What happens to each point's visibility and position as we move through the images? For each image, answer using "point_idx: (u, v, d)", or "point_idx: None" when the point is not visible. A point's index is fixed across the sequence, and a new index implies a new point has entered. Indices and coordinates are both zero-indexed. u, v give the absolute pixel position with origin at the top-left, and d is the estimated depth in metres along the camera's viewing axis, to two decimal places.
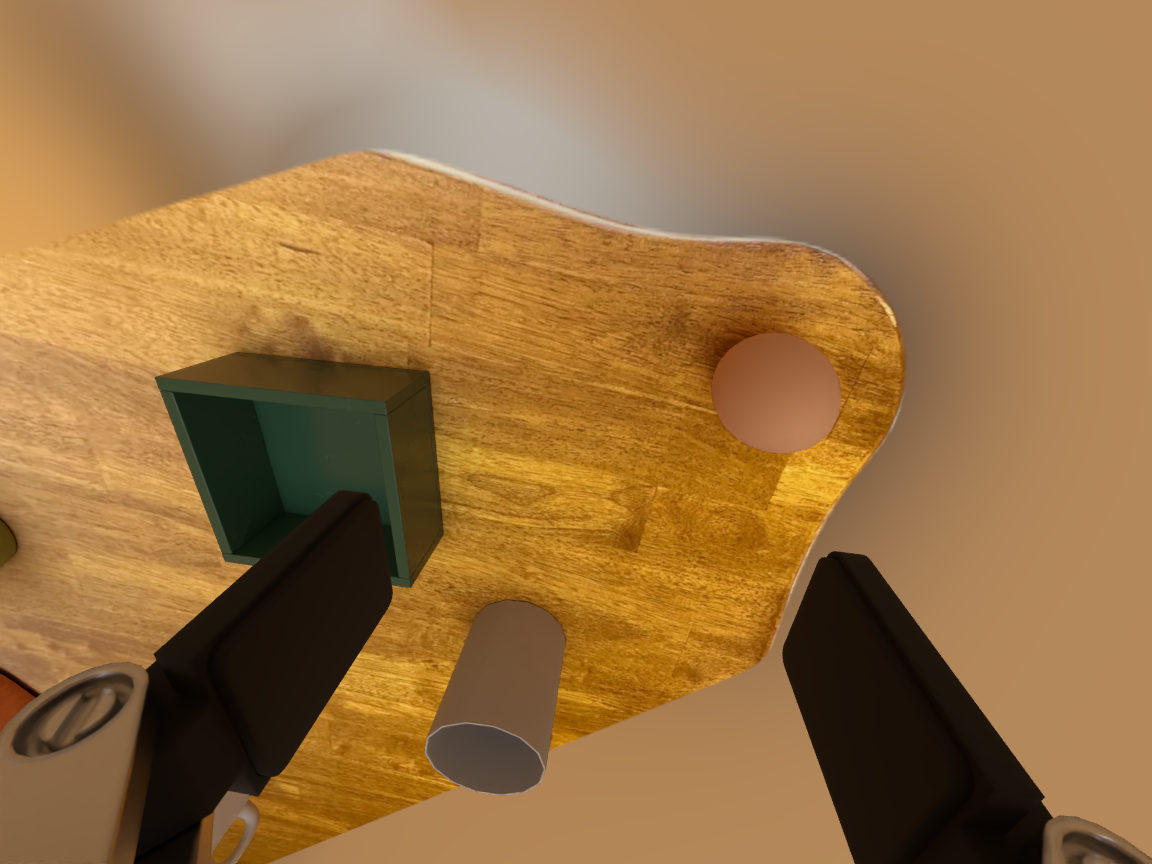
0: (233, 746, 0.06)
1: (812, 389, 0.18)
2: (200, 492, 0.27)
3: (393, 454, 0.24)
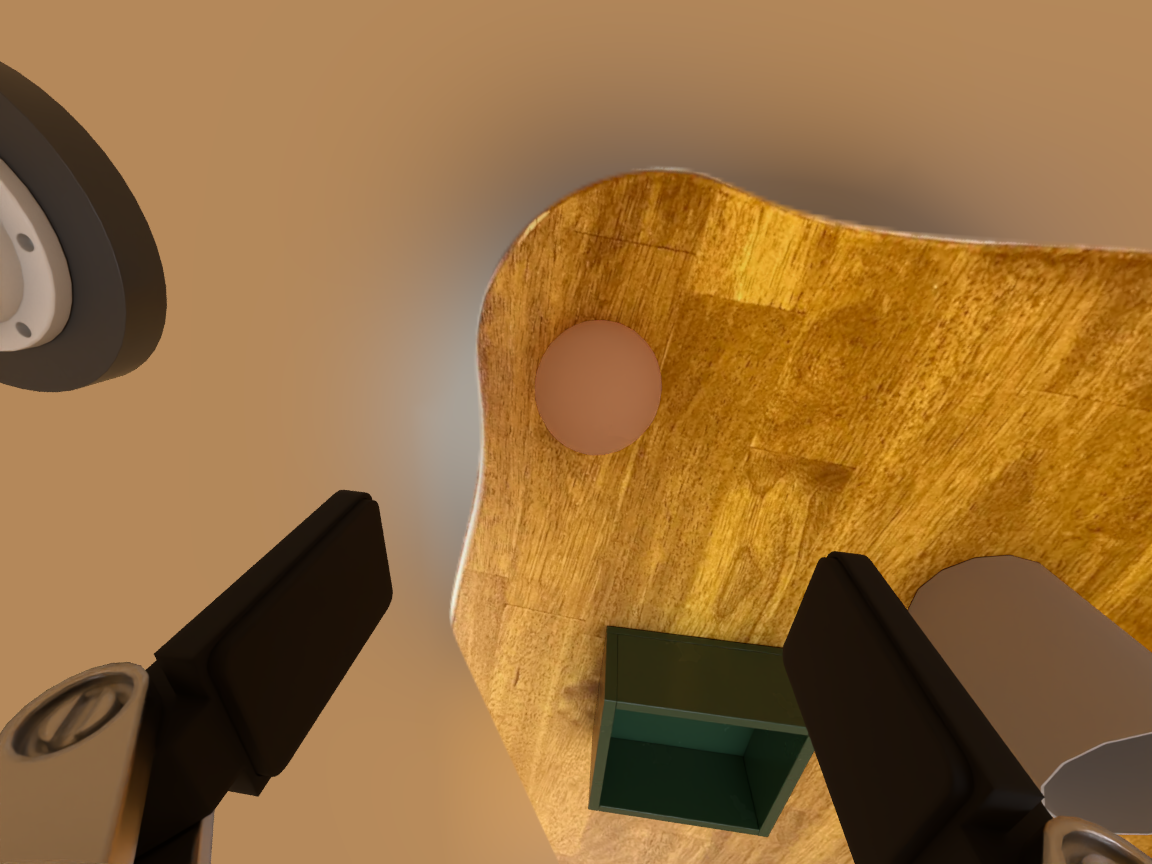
0: (234, 746, 0.06)
1: (556, 407, 0.16)
2: (689, 824, 0.32)
3: (656, 705, 0.27)
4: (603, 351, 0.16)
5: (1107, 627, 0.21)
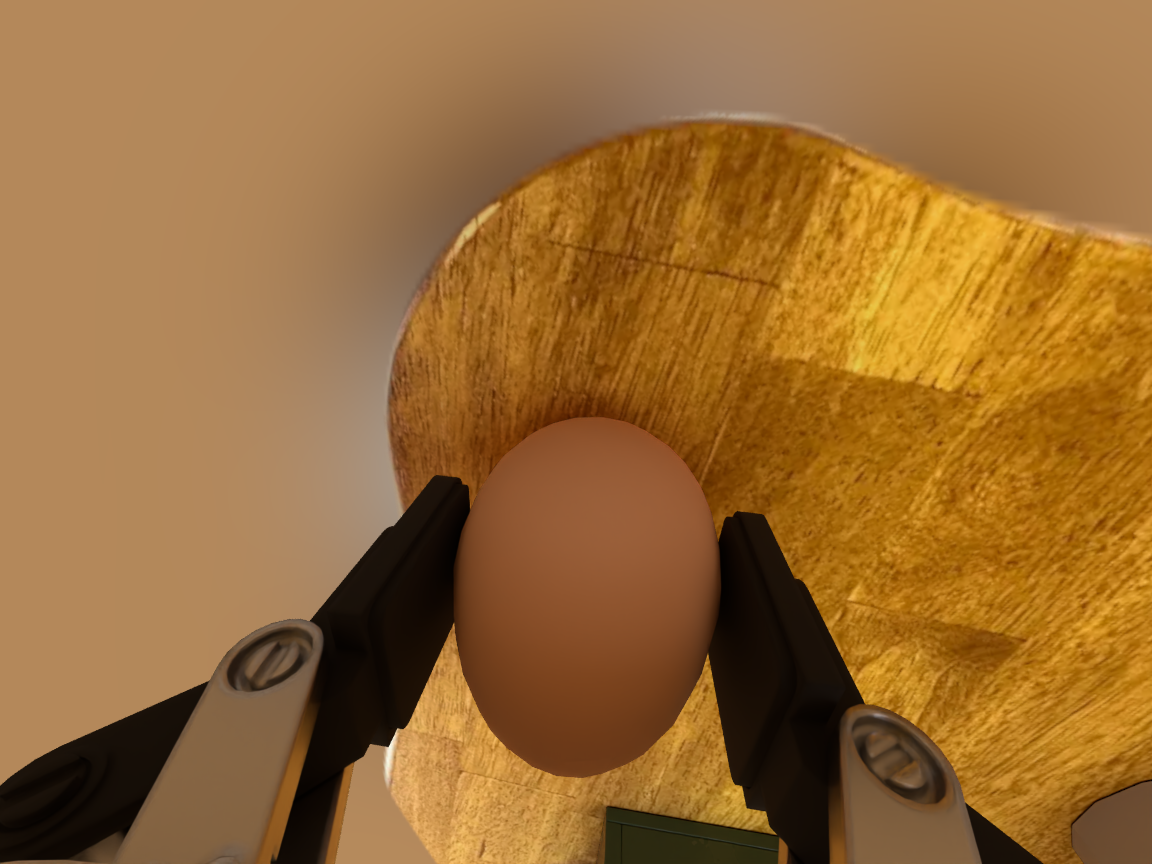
0: (377, 698, 0.07)
1: (477, 684, 0.07)
2: None
3: None
4: (595, 543, 0.07)
5: None
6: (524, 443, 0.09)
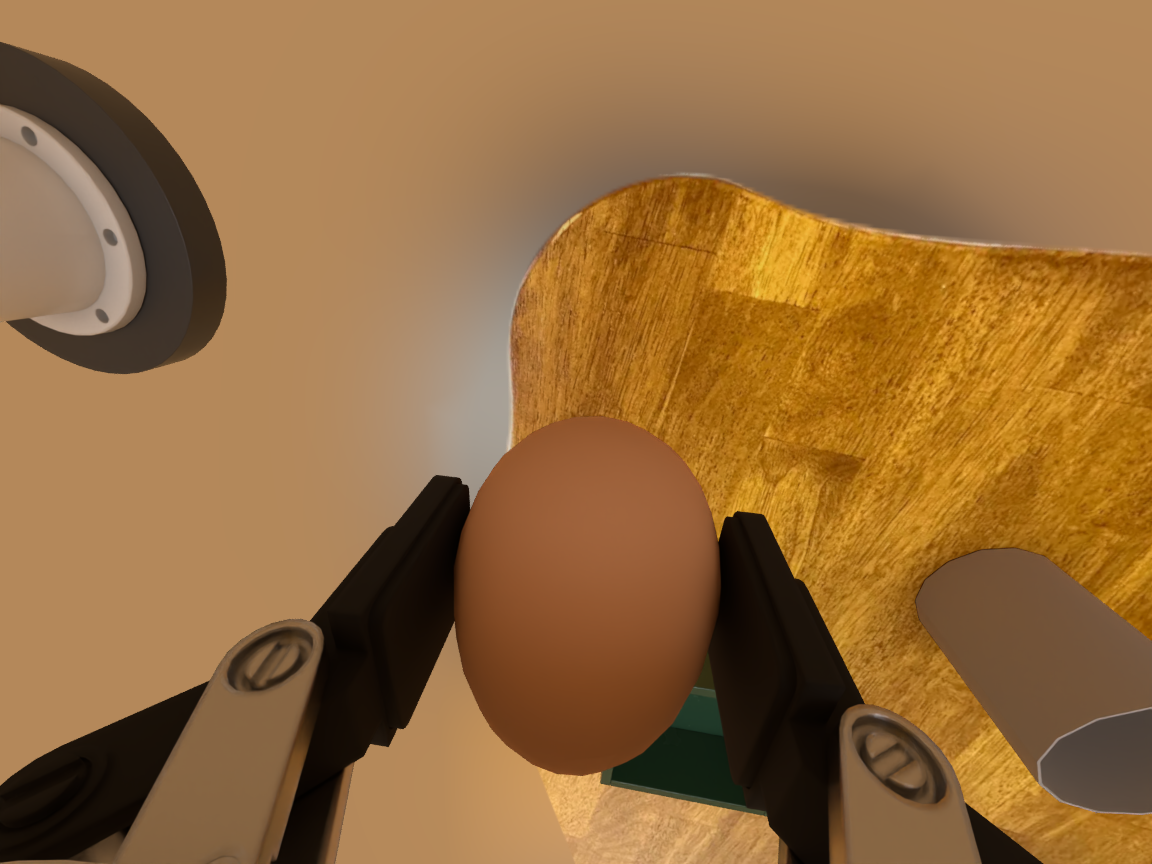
0: (377, 697, 0.07)
1: (477, 683, 0.07)
2: (697, 802, 0.33)
3: None
4: (596, 542, 0.07)
5: (1107, 615, 0.22)
6: (524, 442, 0.09)
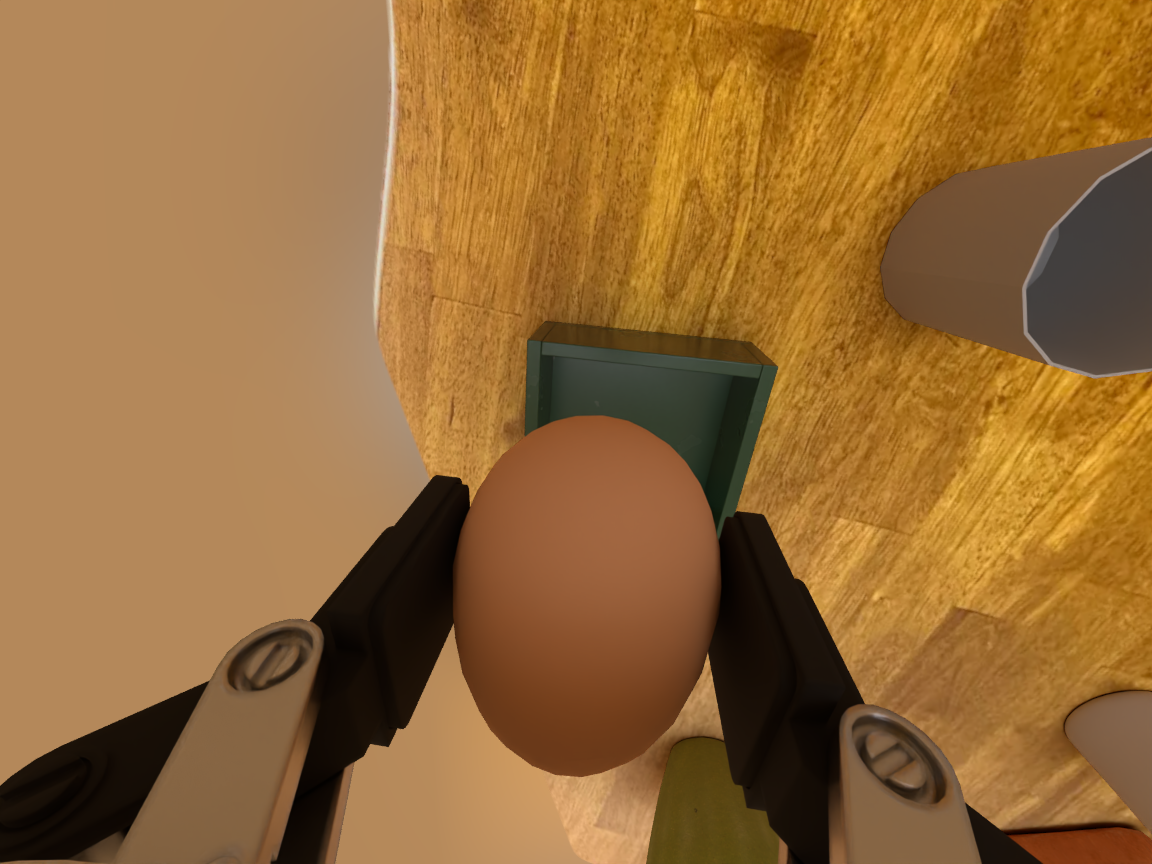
0: (377, 697, 0.07)
1: (476, 683, 0.07)
2: None
3: (586, 345, 0.23)
4: (595, 541, 0.07)
5: None
6: (524, 441, 0.09)
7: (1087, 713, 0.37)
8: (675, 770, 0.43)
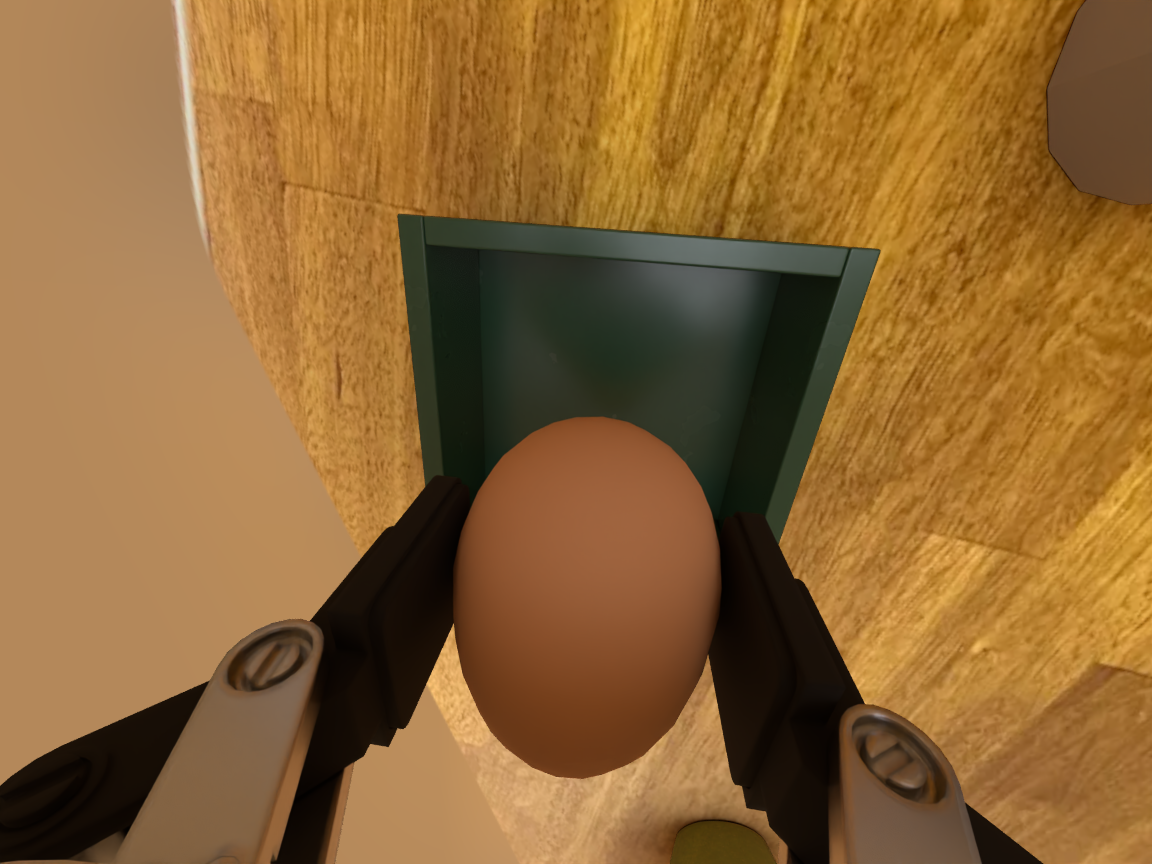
0: (377, 697, 0.07)
1: (476, 685, 0.07)
2: None
3: None
4: (596, 543, 0.07)
5: None
6: (524, 443, 0.09)
7: None
8: None
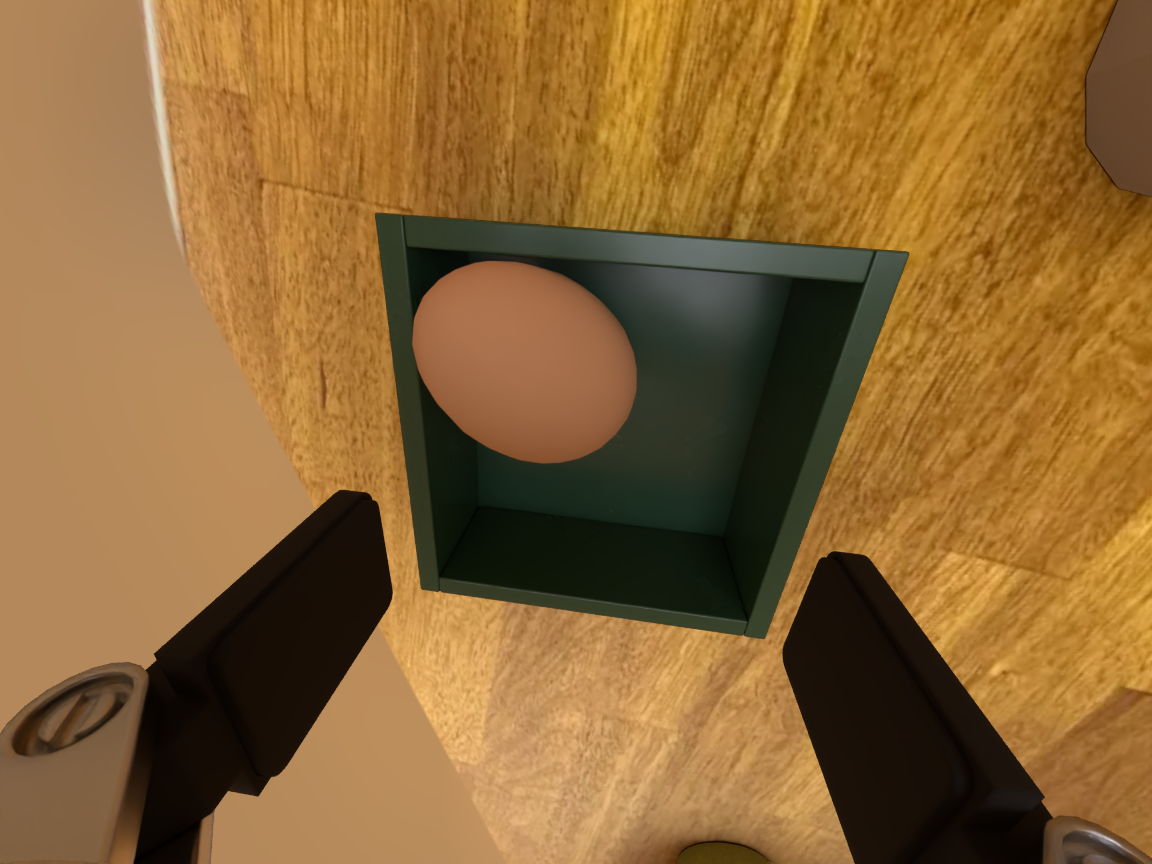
0: (233, 746, 0.06)
1: None
2: (611, 614, 0.16)
3: (494, 221, 0.11)
4: (514, 262, 0.12)
5: None
6: None
7: None
8: None
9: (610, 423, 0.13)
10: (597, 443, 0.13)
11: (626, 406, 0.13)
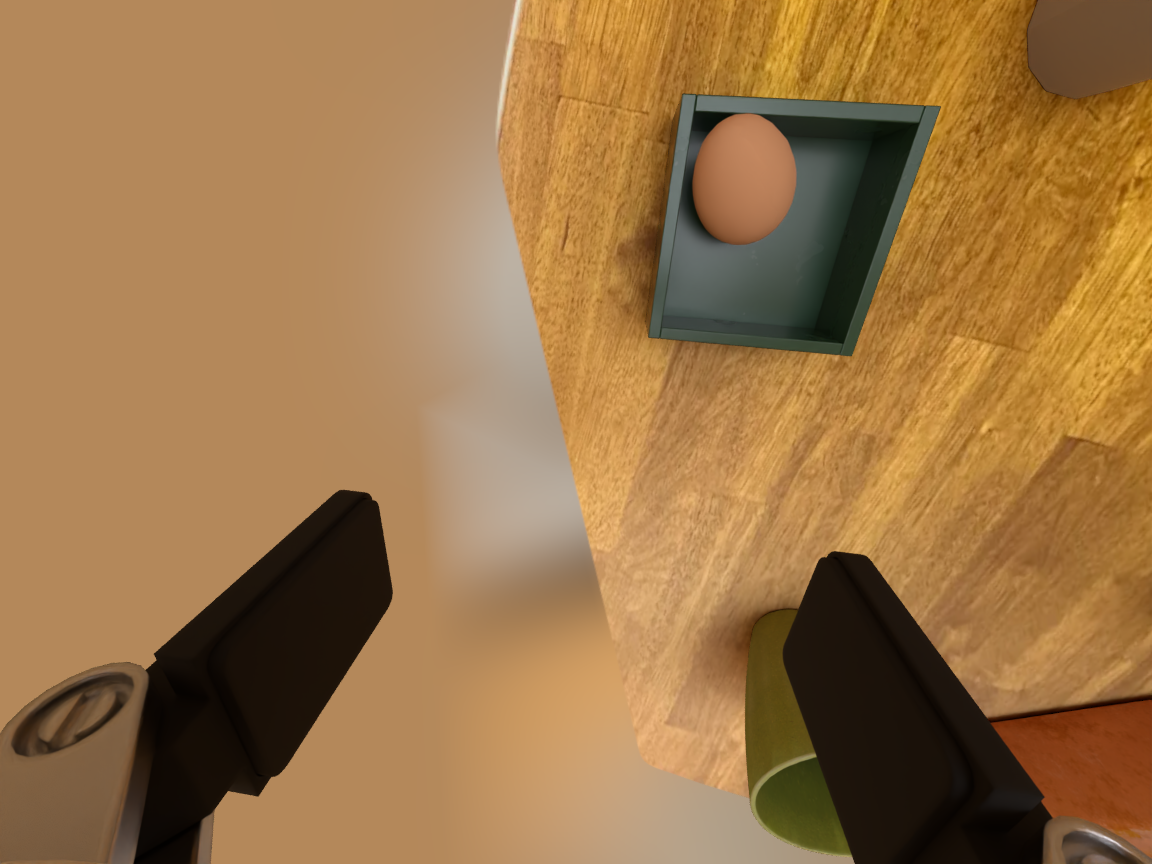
0: (232, 746, 0.06)
1: (705, 139, 0.23)
2: (763, 345, 0.29)
3: (742, 96, 0.23)
4: None
5: None
6: None
7: None
8: (765, 635, 0.43)
9: (786, 206, 0.25)
10: (776, 220, 0.25)
11: (791, 201, 0.25)
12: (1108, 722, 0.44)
